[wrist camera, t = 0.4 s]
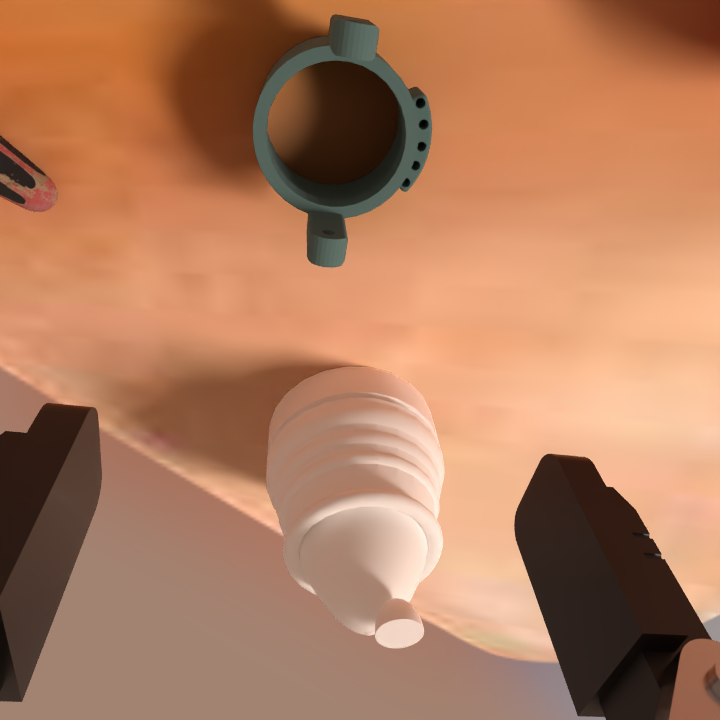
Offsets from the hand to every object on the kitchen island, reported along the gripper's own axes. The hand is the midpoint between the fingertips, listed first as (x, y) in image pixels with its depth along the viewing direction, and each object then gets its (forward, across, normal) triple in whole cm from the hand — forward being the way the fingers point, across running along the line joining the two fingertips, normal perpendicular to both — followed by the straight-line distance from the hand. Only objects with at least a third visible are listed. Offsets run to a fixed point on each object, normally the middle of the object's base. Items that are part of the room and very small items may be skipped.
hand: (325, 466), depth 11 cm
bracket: (+28, -2, 0) cm, 28 cm away
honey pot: (+28, -6, +23) cm, 36 cm away
